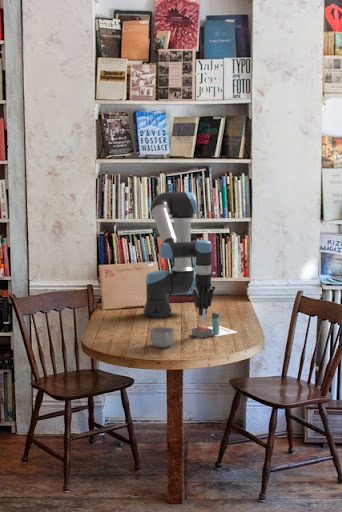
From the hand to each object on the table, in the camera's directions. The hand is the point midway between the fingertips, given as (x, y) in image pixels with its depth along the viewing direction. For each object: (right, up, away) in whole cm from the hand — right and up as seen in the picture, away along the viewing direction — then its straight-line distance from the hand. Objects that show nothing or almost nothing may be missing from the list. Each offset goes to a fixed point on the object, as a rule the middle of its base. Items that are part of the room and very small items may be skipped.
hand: (202, 321), depth 354 cm
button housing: (0, -6, -1) cm, 7 cm away
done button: (0, -6, -1) cm, 6 cm away
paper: (+7, -5, +6) cm, 11 cm away
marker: (+6, -6, 0) cm, 9 cm away
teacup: (-19, -10, -20) cm, 29 cm away
